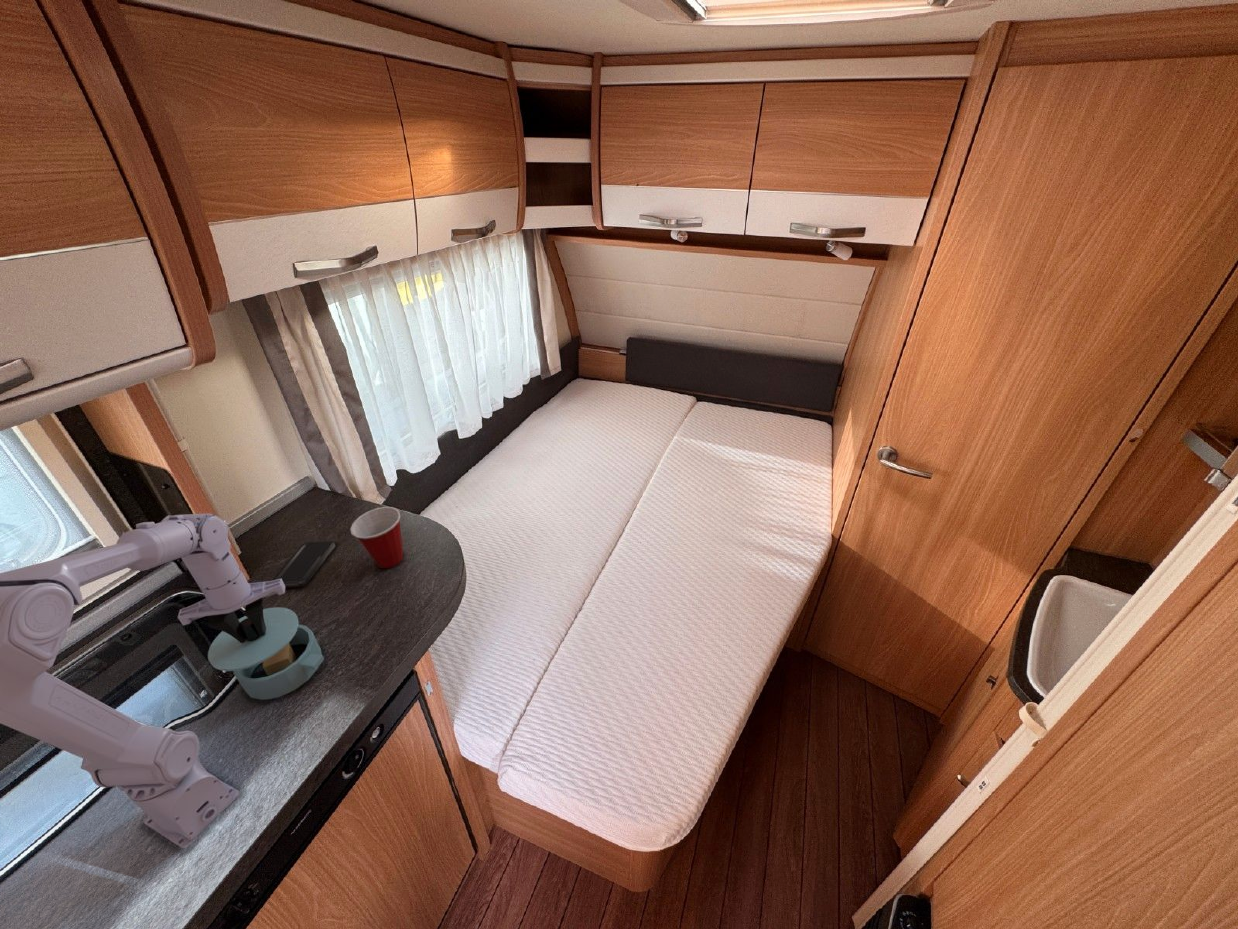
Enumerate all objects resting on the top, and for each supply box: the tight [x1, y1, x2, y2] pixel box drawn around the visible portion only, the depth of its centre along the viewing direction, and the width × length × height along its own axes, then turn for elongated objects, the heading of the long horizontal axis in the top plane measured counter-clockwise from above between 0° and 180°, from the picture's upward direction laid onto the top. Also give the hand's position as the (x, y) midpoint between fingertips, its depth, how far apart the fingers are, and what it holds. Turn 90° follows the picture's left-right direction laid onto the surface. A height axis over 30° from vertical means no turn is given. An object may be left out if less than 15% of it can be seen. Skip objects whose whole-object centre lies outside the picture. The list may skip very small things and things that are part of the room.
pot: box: [232, 624, 325, 701], centre depth 94 cm, size 13×18×5 cm
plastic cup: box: [350, 506, 404, 569], centre depth 118 cm, size 11×11×12 cm
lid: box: [207, 606, 300, 672], centre depth 89 cm, size 14×14×4 cm
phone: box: [271, 540, 336, 589], centre depth 121 cm, size 8×1×15 cm
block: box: [262, 643, 297, 676], centre depth 94 cm, size 4×4×4 cm
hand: (253, 635), depth 89 cm, fingers closed on lid, 2 cm apart
